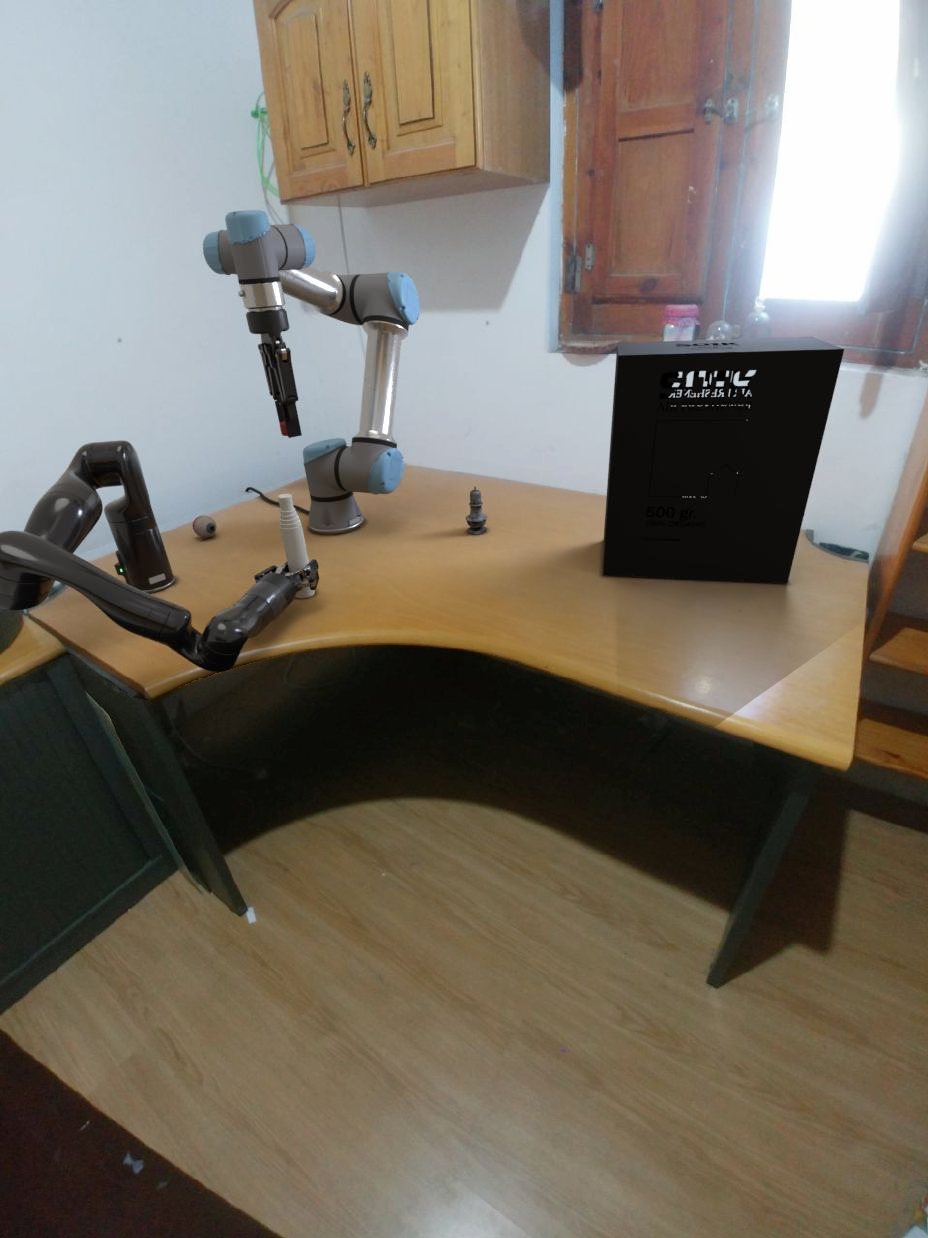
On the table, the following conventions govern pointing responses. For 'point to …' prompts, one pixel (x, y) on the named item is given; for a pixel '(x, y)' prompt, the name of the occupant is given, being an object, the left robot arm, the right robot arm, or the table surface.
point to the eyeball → (204, 526)
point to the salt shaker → (476, 514)
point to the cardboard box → (714, 456)
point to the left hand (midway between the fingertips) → (304, 562)
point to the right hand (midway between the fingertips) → (291, 433)
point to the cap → (283, 428)
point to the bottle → (293, 540)
